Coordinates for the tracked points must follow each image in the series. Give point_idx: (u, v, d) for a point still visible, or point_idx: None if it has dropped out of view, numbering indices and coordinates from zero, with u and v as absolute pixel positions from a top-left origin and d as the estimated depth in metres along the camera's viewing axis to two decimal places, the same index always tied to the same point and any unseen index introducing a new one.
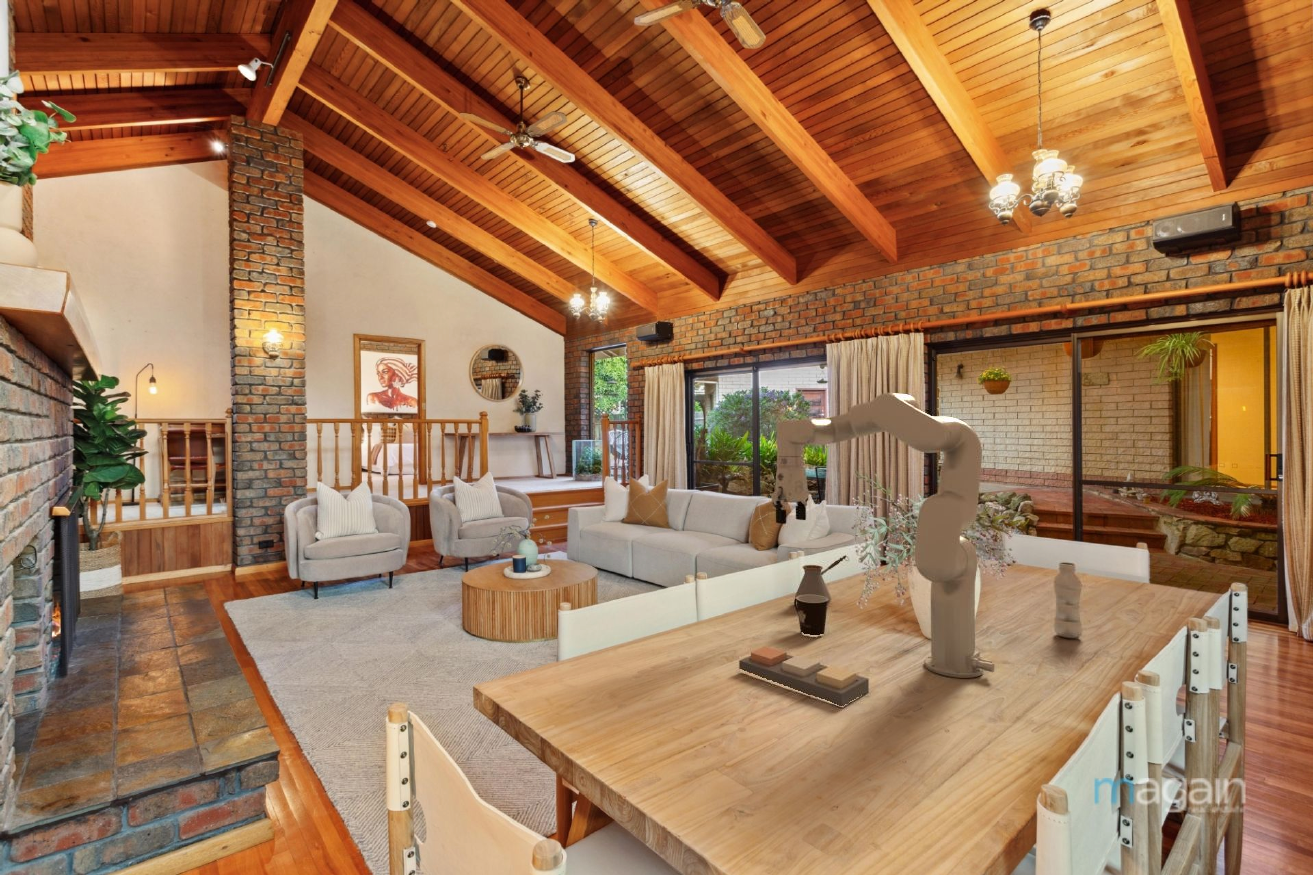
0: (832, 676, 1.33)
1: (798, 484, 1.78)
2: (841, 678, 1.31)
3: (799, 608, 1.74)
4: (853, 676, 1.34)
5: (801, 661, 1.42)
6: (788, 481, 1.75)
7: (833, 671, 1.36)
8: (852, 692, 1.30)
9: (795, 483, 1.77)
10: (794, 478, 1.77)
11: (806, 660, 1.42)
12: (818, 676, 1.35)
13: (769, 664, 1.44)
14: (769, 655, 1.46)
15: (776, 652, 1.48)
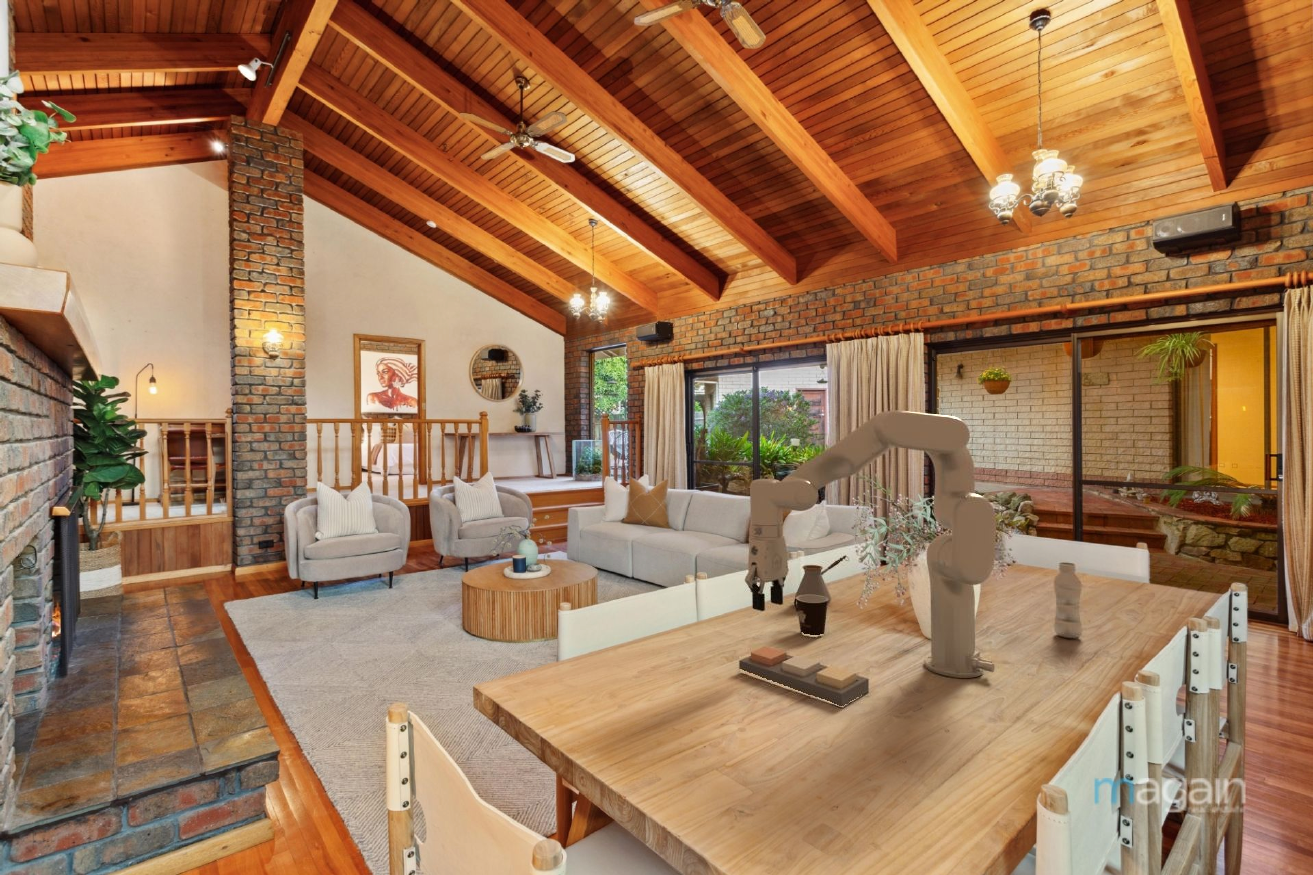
0: (832, 676, 1.33)
1: (776, 559, 1.46)
2: (841, 678, 1.31)
3: (799, 608, 1.74)
4: (853, 676, 1.34)
5: (801, 661, 1.42)
6: (763, 556, 1.43)
7: (833, 671, 1.36)
8: (852, 692, 1.30)
9: (772, 558, 1.45)
10: (771, 553, 1.44)
11: (806, 660, 1.42)
12: (818, 676, 1.35)
13: (769, 664, 1.44)
14: (769, 655, 1.46)
15: (776, 652, 1.48)
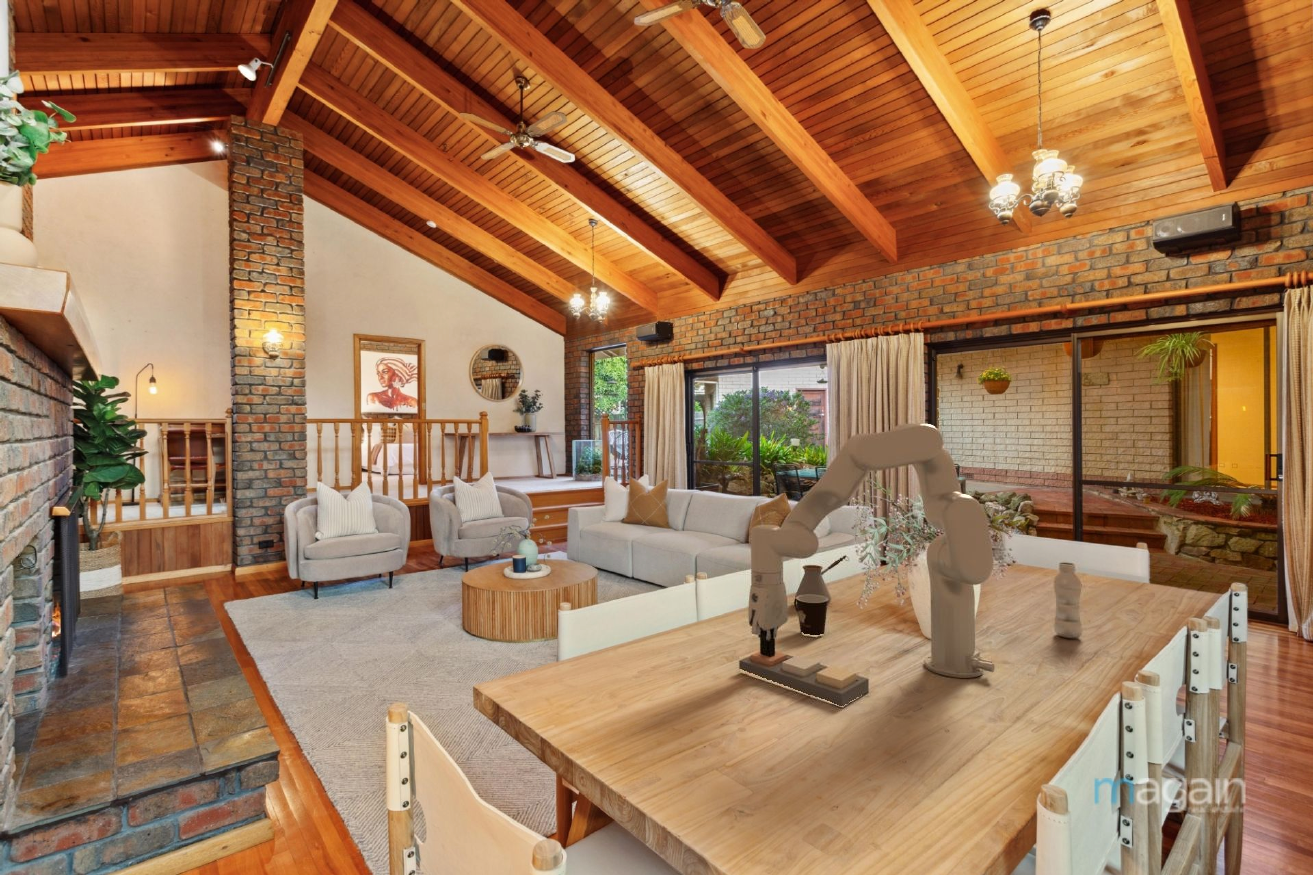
0: (832, 676, 1.33)
1: (776, 606, 1.46)
2: (841, 678, 1.31)
3: (799, 608, 1.74)
4: (853, 676, 1.34)
5: (801, 661, 1.42)
6: (763, 604, 1.43)
7: (833, 671, 1.36)
8: (852, 692, 1.30)
9: (772, 605, 1.45)
10: (771, 600, 1.44)
11: (806, 660, 1.42)
12: (818, 676, 1.35)
13: None
14: (769, 657, 1.46)
15: (776, 654, 1.48)
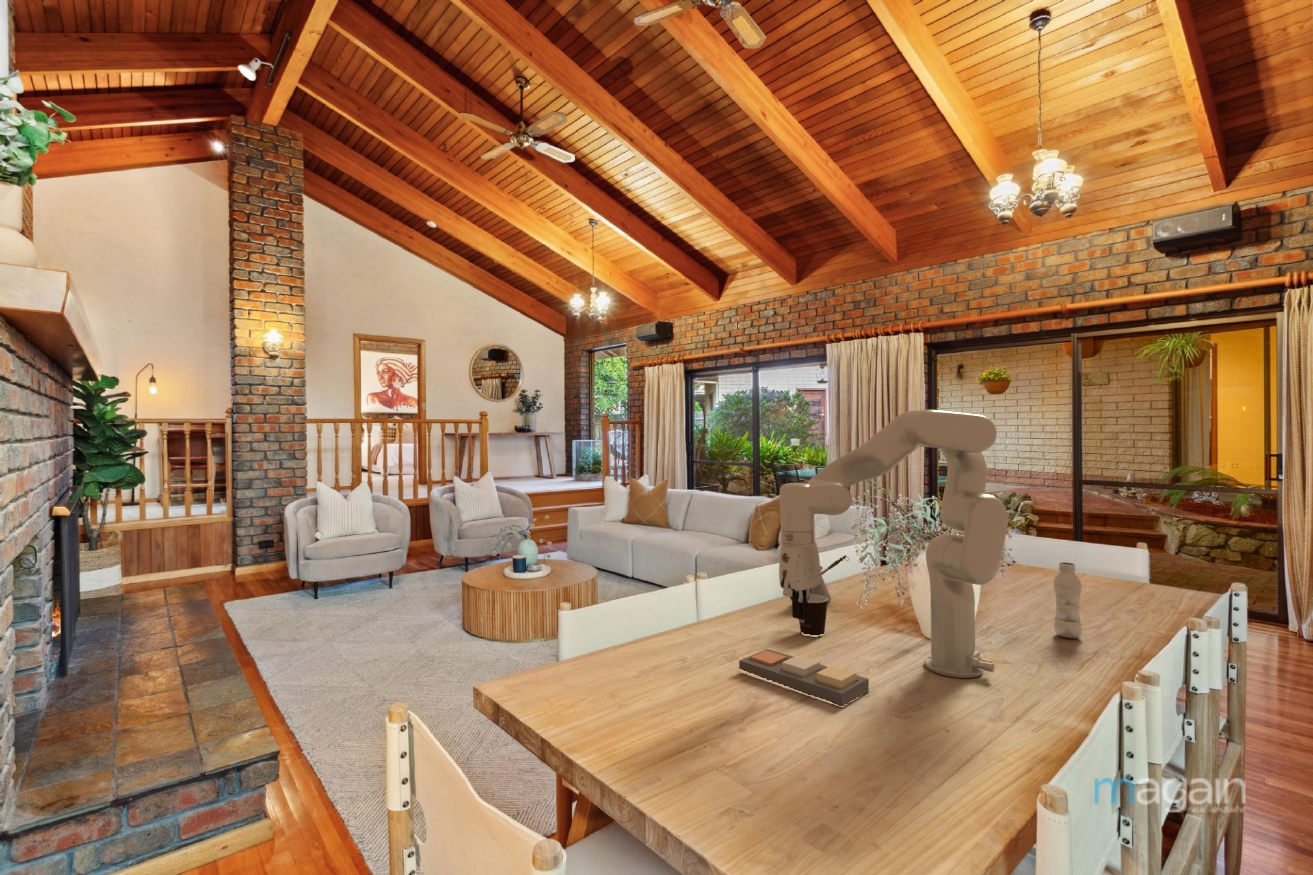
0: (832, 676, 1.33)
1: (808, 566, 1.39)
2: (841, 678, 1.31)
3: None
4: (853, 676, 1.34)
5: (801, 661, 1.42)
6: (795, 564, 1.37)
7: (833, 671, 1.36)
8: (852, 692, 1.30)
9: (804, 565, 1.38)
10: (802, 560, 1.38)
11: (806, 660, 1.42)
12: (818, 676, 1.35)
13: None
14: (769, 660, 1.46)
15: (776, 656, 1.48)
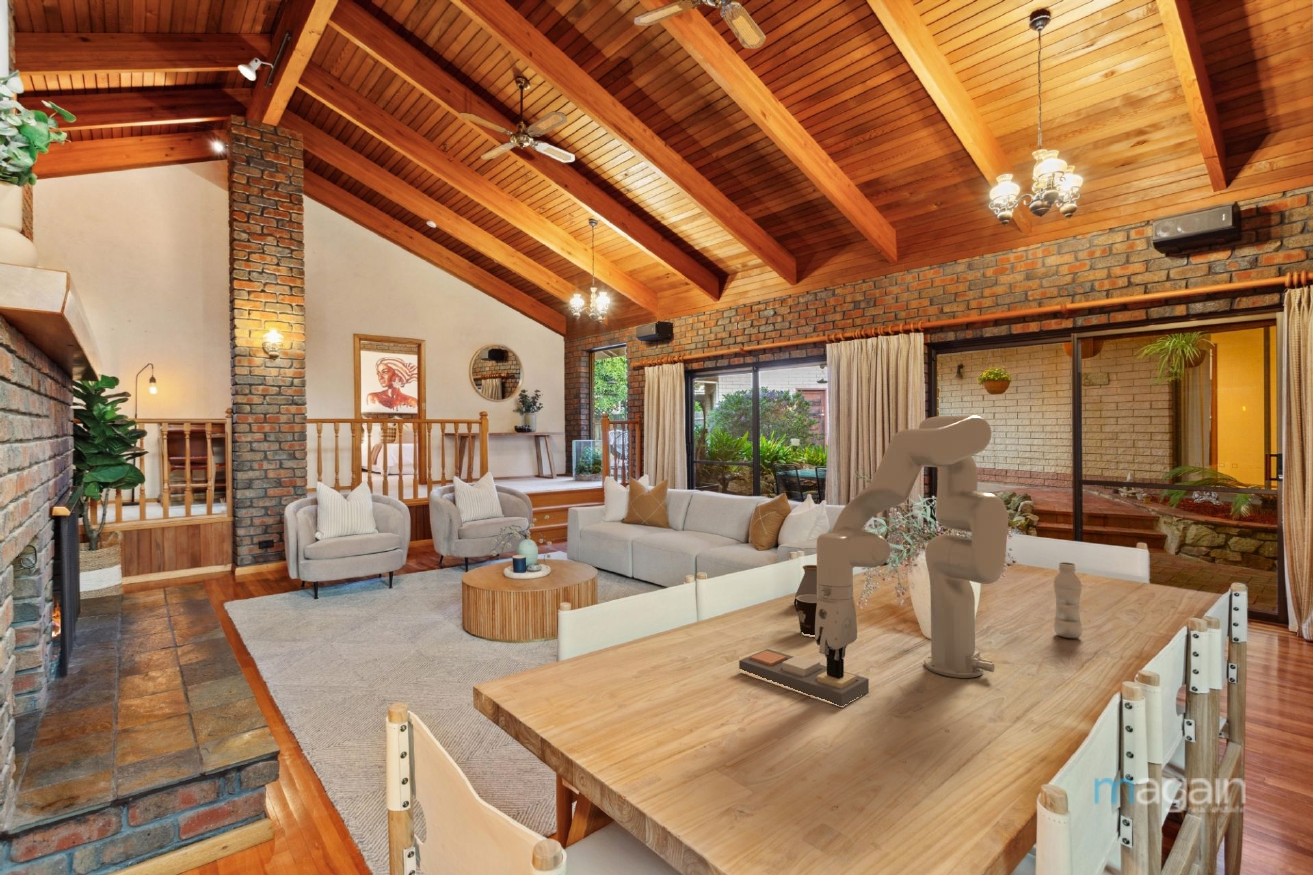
0: (832, 679, 1.33)
1: (845, 622, 1.33)
2: (841, 682, 1.31)
3: (799, 608, 1.74)
4: (853, 679, 1.34)
5: (801, 661, 1.42)
6: (833, 621, 1.30)
7: None
8: (852, 692, 1.30)
9: (842, 622, 1.32)
10: (841, 617, 1.31)
11: (806, 660, 1.42)
12: (818, 679, 1.35)
13: None
14: (769, 660, 1.46)
15: (776, 656, 1.48)
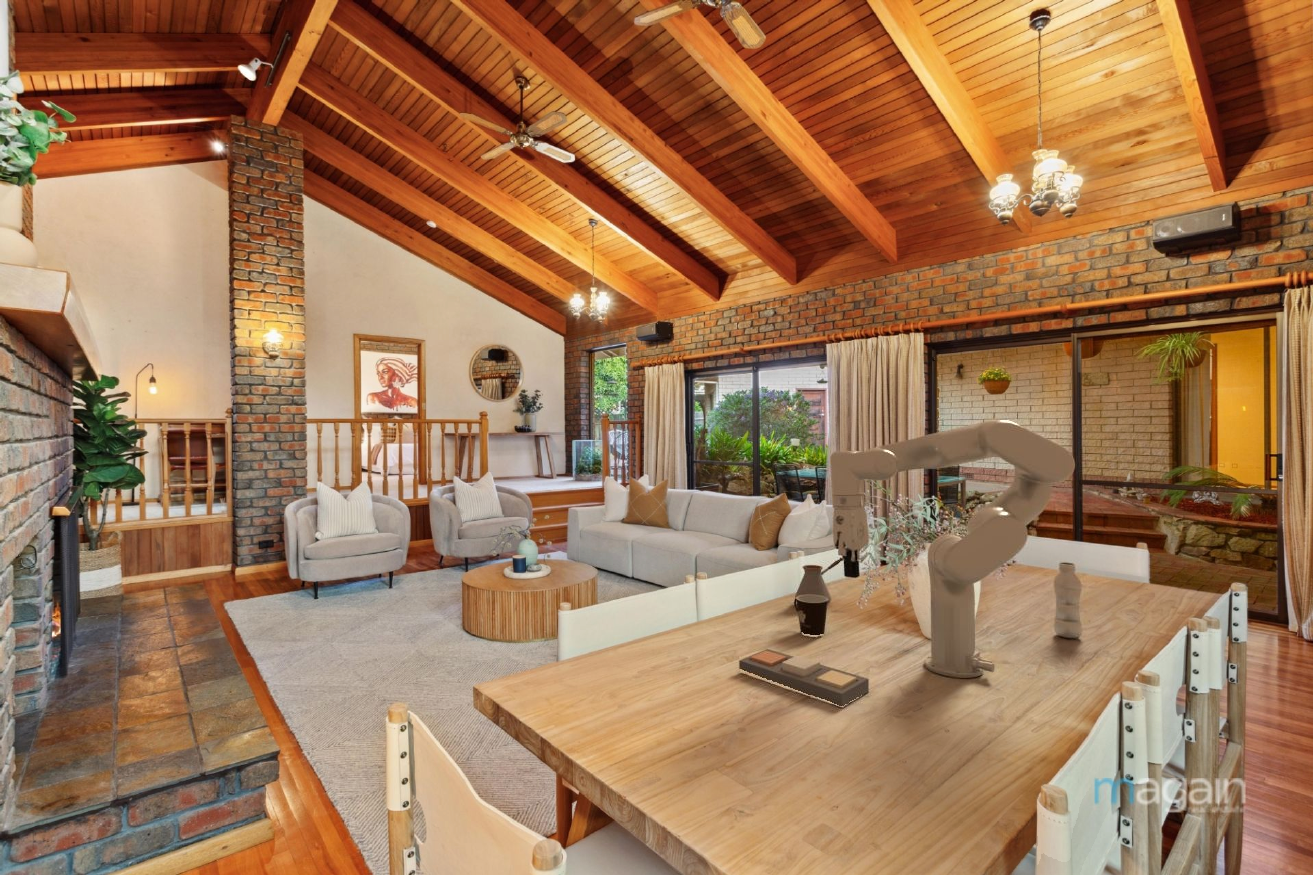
0: (832, 681, 1.33)
1: (859, 527, 1.50)
2: (841, 683, 1.31)
3: (799, 608, 1.74)
4: (853, 681, 1.34)
5: (801, 661, 1.42)
6: (850, 525, 1.47)
7: (833, 676, 1.36)
8: (852, 692, 1.30)
9: (857, 526, 1.49)
10: (855, 521, 1.48)
11: (806, 660, 1.42)
12: (818, 681, 1.35)
13: None
14: (769, 660, 1.46)
15: (776, 656, 1.48)
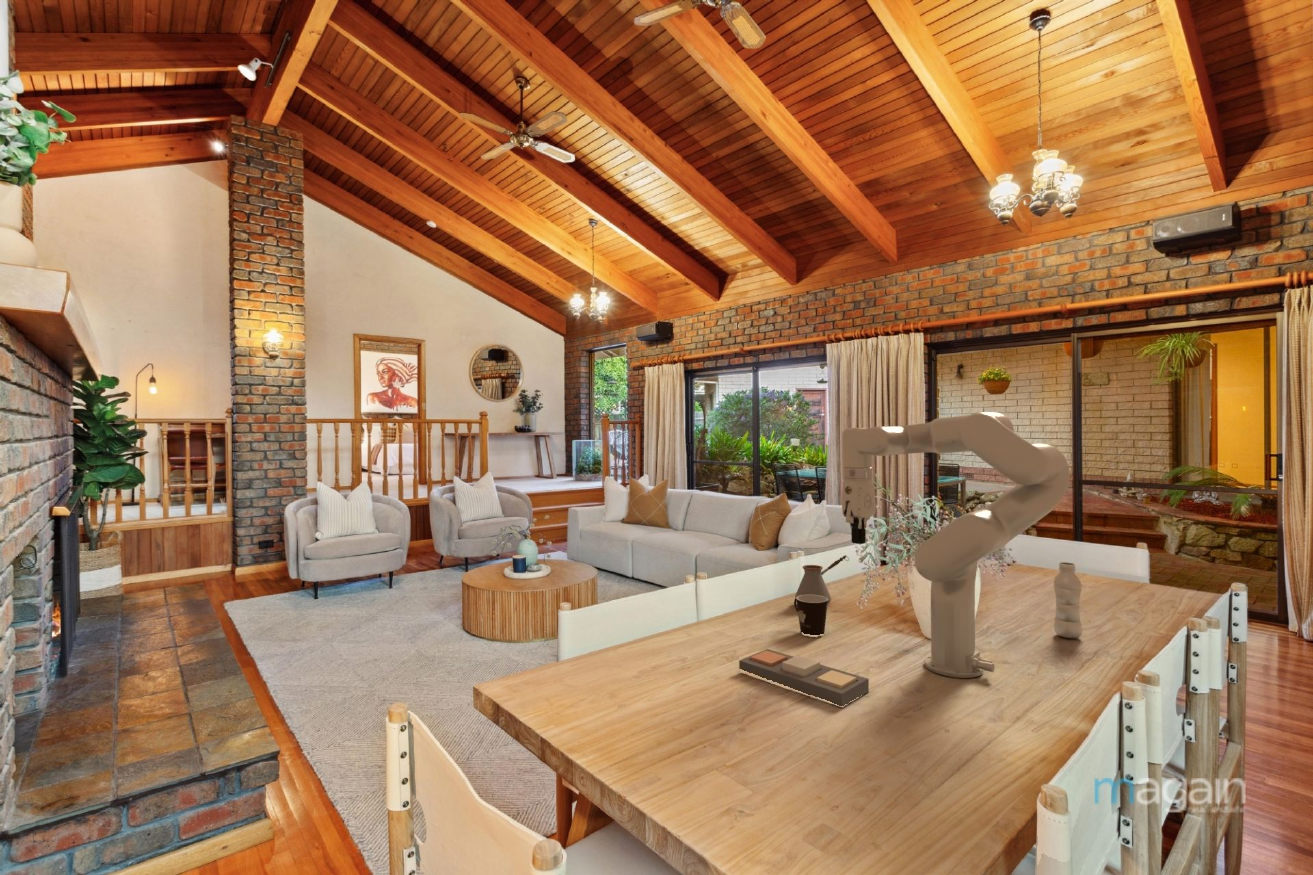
0: (832, 681, 1.33)
1: (867, 498, 1.63)
2: (841, 683, 1.31)
3: (799, 608, 1.74)
4: (853, 681, 1.34)
5: (801, 661, 1.42)
6: (857, 495, 1.60)
7: (833, 676, 1.36)
8: (852, 692, 1.30)
9: (864, 496, 1.62)
10: (863, 492, 1.62)
11: (806, 660, 1.42)
12: (818, 681, 1.35)
13: None
14: (769, 660, 1.46)
15: (776, 656, 1.48)
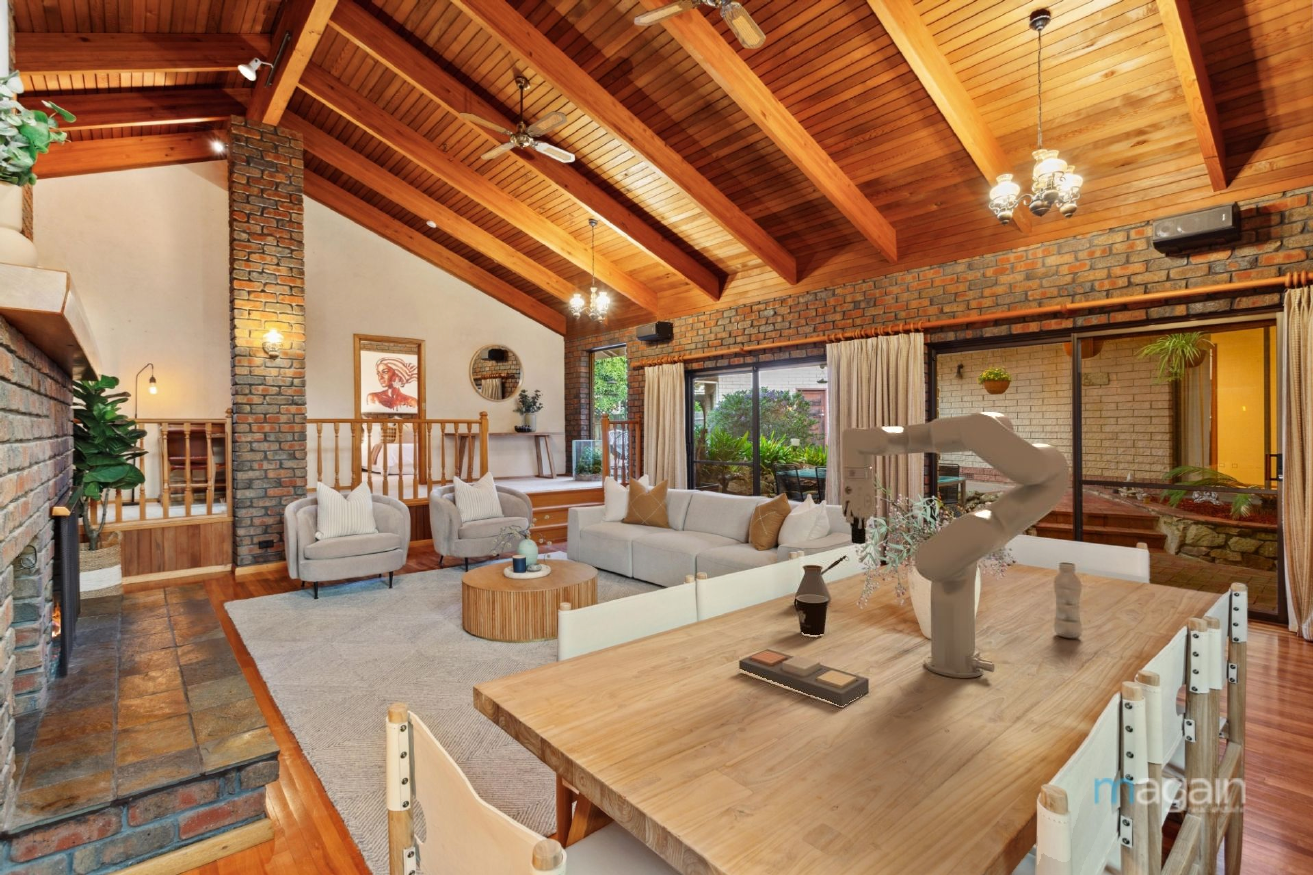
0: (832, 681, 1.33)
1: (867, 498, 1.63)
2: (841, 683, 1.31)
3: (799, 608, 1.74)
4: (853, 681, 1.34)
5: (801, 661, 1.42)
6: (857, 495, 1.60)
7: (833, 676, 1.36)
8: (852, 692, 1.30)
9: (864, 497, 1.62)
10: (863, 492, 1.62)
11: (806, 660, 1.42)
12: (818, 681, 1.35)
13: None
14: (769, 660, 1.46)
15: (776, 656, 1.48)
